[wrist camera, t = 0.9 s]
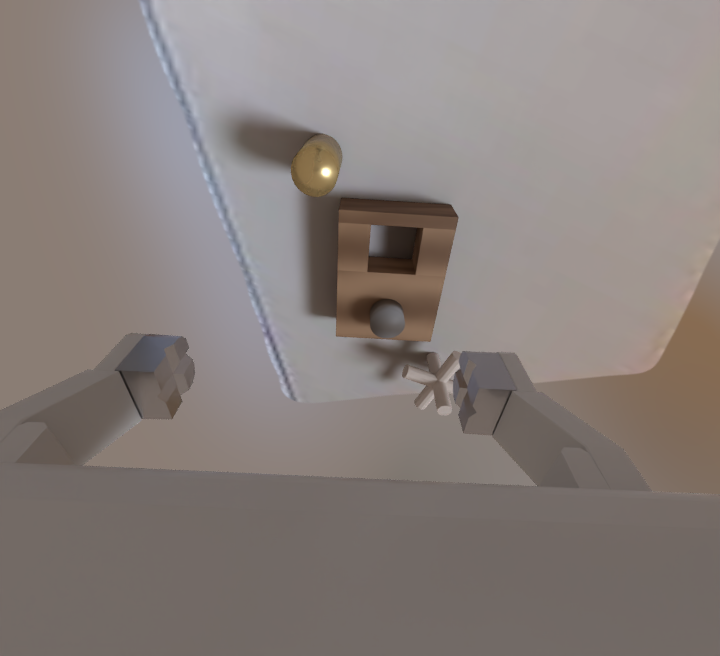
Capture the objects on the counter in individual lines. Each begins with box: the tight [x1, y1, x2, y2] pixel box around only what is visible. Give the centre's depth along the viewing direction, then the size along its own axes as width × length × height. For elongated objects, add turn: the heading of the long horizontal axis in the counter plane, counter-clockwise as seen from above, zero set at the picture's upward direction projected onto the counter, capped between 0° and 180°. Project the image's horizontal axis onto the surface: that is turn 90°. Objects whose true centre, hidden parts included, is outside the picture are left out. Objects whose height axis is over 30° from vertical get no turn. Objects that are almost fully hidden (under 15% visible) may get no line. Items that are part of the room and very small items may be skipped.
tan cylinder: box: [291, 134, 342, 197], centre depth 33 cm, size 4×4×7 cm
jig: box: [336, 198, 458, 342], centre depth 41 cm, size 16×12×6 cm
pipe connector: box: [402, 351, 461, 415], centre depth 48 cm, size 10×10×10 cm
